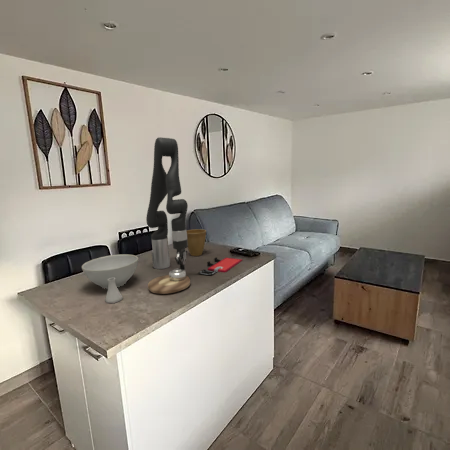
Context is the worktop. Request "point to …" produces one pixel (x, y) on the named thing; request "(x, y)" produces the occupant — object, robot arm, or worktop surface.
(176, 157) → the robot arm
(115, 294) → the flask
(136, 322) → the worktop surface
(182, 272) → the cover
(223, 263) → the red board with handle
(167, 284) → the turntable
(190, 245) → the plant pot
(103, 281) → the decorative bowl
